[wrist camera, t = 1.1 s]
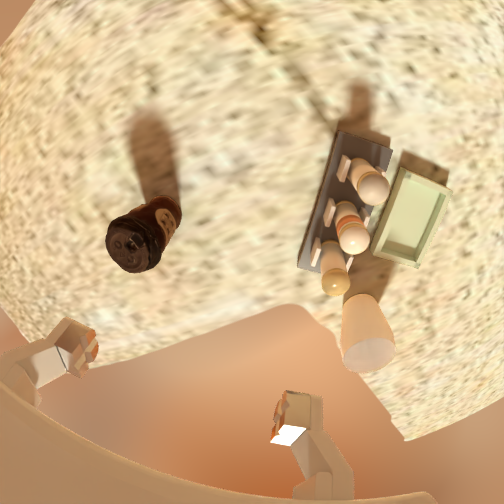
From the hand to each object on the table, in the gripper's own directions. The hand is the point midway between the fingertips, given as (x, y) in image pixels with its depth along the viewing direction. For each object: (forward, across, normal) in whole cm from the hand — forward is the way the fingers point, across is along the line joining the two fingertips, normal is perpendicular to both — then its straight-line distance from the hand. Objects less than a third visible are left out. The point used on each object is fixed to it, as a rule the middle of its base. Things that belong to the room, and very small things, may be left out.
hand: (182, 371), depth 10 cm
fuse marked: (+32, -12, +2) cm, 35 cm away
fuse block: (+34, -12, +2) cm, 36 cm away
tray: (+34, -23, 0) cm, 41 cm away
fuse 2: (+32, -12, -4) cm, 35 cm away
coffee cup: (+34, +15, +10) cm, 39 cm away
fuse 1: (+33, -12, +8) cm, 36 cm away
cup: (+35, -22, +19) cm, 45 cm away
